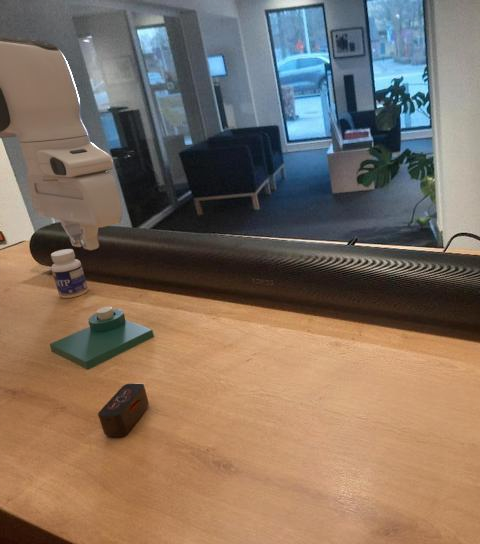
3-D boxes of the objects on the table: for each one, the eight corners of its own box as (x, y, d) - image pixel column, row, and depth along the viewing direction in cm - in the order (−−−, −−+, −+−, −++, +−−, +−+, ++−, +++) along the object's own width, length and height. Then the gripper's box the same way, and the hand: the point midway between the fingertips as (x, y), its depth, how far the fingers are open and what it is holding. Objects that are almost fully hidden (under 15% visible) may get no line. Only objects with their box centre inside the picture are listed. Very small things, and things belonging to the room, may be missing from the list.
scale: (50, 351, 78) (45, 334, 77) (116, 322, 87) (112, 306, 86) (88, 370, 72) (82, 352, 71) (155, 336, 81) (151, 320, 80)
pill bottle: (53, 297, 99) (40, 256, 96) (74, 287, 104) (62, 247, 101) (74, 299, 98) (61, 257, 95) (94, 288, 102) (83, 248, 99)
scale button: (95, 319, 82) (93, 311, 82) (109, 313, 84) (107, 305, 83) (103, 322, 81) (101, 314, 80) (117, 316, 83) (114, 308, 82)
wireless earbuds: (154, 400, 64) (148, 379, 63) (125, 438, 57) (118, 415, 56) (120, 401, 64) (114, 379, 63) (87, 438, 58) (80, 415, 57)
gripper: (6, 159, 76) (34, 244, 81) (73, 164, 65) (101, 263, 70) (48, 153, 81) (72, 234, 86) (118, 157, 70) (141, 249, 75)
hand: (86, 247), depth 78 cm, fingers closed
